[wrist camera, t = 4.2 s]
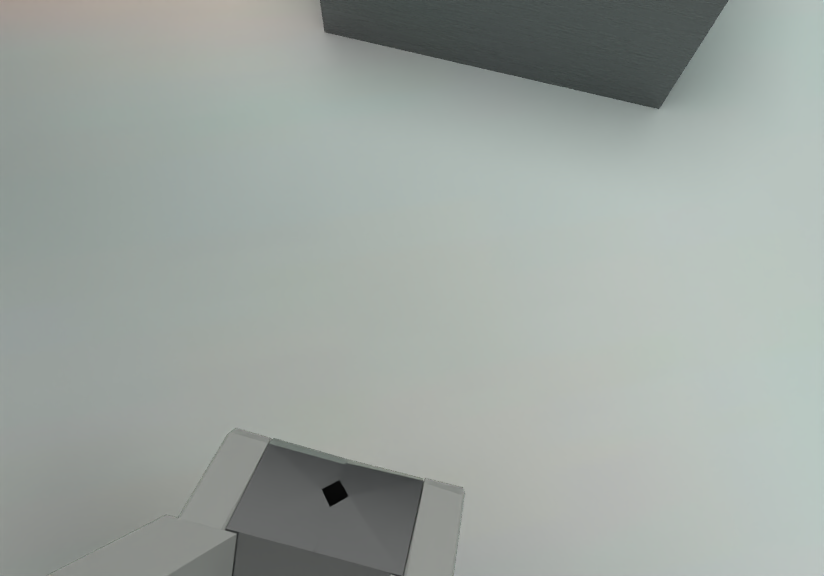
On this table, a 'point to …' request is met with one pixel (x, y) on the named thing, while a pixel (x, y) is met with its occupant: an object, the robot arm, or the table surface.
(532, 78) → the iron bookend
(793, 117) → the table surface
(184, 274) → the table surface
